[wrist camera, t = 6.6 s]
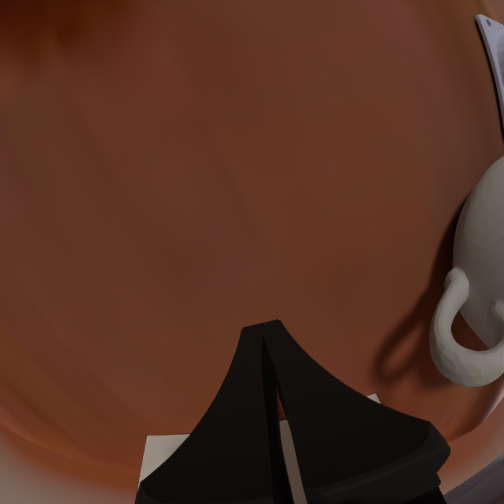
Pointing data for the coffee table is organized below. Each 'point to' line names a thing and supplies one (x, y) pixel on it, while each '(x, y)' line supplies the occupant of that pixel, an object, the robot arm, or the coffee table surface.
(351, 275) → the coffee table surface
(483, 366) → the teacup
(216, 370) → the coffee table surface
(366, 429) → the robot arm
